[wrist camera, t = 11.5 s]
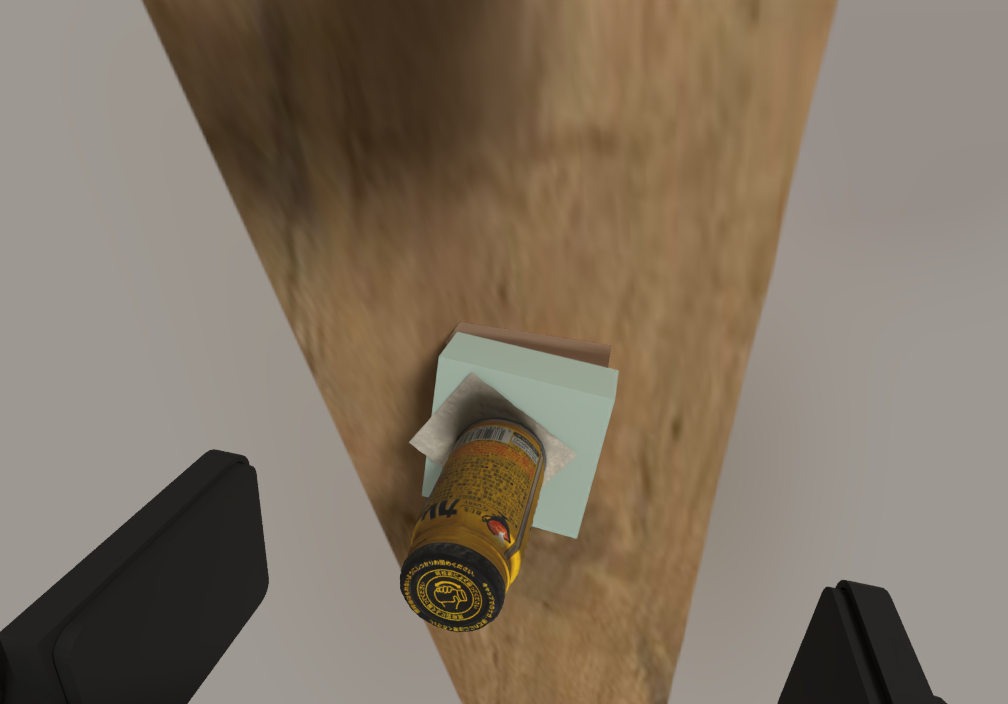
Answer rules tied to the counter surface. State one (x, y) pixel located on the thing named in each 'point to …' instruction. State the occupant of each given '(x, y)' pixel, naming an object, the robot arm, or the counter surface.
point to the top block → (539, 413)
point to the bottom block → (541, 343)
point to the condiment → (476, 505)
